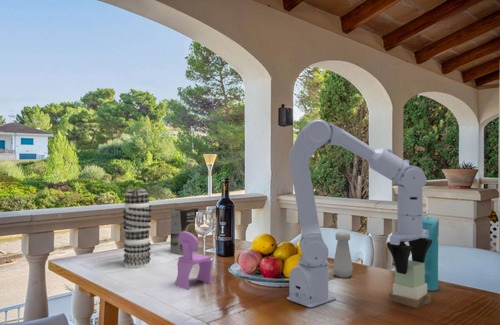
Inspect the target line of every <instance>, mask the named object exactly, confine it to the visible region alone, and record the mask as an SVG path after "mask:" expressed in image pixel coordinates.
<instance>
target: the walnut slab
mask: <svg viewBox="0 0 500 325" xmlns="http://www.w3.org/2000/svg"><path fill="white" fill-rule="evenodd" d="M388 297H389V299H388V300H390V301H389V302H392V301H394V302H393V303H396V302H397V303H396V304H399V303H401V304H400V305H403V304H404V305H403V306H406V305H407V306H406V307H409V306H410V308H413V309H416V308H417V309H418V308H421V307H423V306H426V305H427V303H428V304H430V303H432V294H431V293H427V294H426V295H424V296H423V297H421V298H420V299H418V300H416V299H412V298H407V297H403V296H399V295H394V294H393V291H392V292H390V293H389V294H388ZM425 304H426V305H425Z"/></svg>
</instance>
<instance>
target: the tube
mask: <svg viewBox="0 0 500 325" xmlns="http://www.w3.org/2000/svg"><path fill="white" fill-rule="evenodd" d="M439 226H440V218H439V217H438V218H437V217H432V216H431V217H430V216H426V215H423V229H425V230H428V238H426V239H431V240H432V244H431V245H430V247H429V249H428V251H427V254H426V257H425V261H424V263H425V283H427V291H438V290H439V229H440V228H439Z"/></svg>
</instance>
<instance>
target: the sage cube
mask: <svg viewBox="0 0 500 325" xmlns="http://www.w3.org/2000/svg"><path fill="white" fill-rule="evenodd" d="M394 283H397V284H401V285H405V286H409V287H413V288H415V287H418V286H420V285H423V284H425V263H421V262H416V261H412V259H411V260H410V259H408V268H407V273H406V274H401V273H397V270H396V266H395V265H394Z"/></svg>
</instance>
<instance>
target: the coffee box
mask: <svg viewBox="0 0 500 325" xmlns="http://www.w3.org/2000/svg"><path fill="white" fill-rule="evenodd" d="M196 212H198V213H199V208H198V207H197V208H196V207H185V208H184V207H183V208H175V209H170V253H171V252H172V253H173V254H177V253H178V255H183V249H182V245H181V244H180V242H179V240H178V237H179V234H180V233H181V232H183V231H186V232H189V233H191V234H193V235H194V236H196V238H197V239H198V240H199V232H198V233H197V232H196V230H195V217H196ZM198 250H199V248H198V249H197V251H198ZM194 252H196V250H195V251H194Z"/></svg>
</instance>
